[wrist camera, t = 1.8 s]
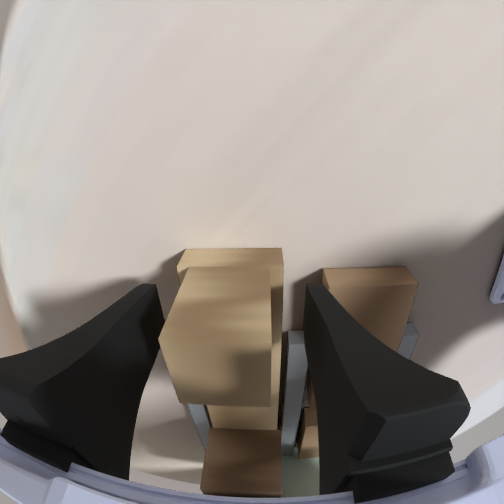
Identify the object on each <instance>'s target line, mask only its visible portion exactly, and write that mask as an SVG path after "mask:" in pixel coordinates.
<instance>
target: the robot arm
mask: <svg viewBox="0 0 504 504" xmlns="http://www.w3.org/2000/svg"><path fill="white" fill-rule="evenodd" d="M489 298H490V301H491V302H492V303H493V304H498V303H504V255H503V258H502V261H501V265H500V268H499V271H498V274H497V277H496V280H495V283H494V285H493V288H492V291H491V294H490V297H489ZM164 324H165V320H164V316H163V312H162V308H161V304H160V300H159V296H158V291H157V287H156V284H141V285H139V286H138V287H136V288H135V289H133V290H132V291H130V292H129V293H128V294H126V295H125V296H124V297H122V298H121V299H120V300H118V301H117V302H115V303H114V304H113V305H111V306H110V307H109V308H107V309H106V310H104V311H103V312H102V313H100V314H99V315H97V316H96V317H94V318H93V319H91V320H90V321H88V322H87V323H85V324H84V325H82V326H80V327H79V328H77V329H75V330H73V331H72V332H70V333H68V334H66V335H64V336H62V337H60V338H58V339H56V340H54V341H51V342H49V343H47V344H45V345H43V346H40V347H37V348H35V349H32V350H29V351H26V352H23V353H20V354H16V355H13V356H8V357H4V358H0V412H1V413H2V414H3V416H4V417H5V418H6V419H7V420H8V421H7V423H6V425H5V426H4V428H3V429H1V428H0V490H1V491H2V492H4V493H5V494H7V495H8V496H9V497H11V498H12V499H13V500H15V501H16V502H18V503H19V504H504V435H502V436H499V437H497V438H496V439H493V440H491V441H489V442H487V443H485V444H483V445H481V446H479V447H478V448H476V449H475V450H474V451H472V452H471V453H470V454H469V455H468V456H467V458H466V459H464V460H462V461H460V462H457V463H454V464H453V463H452V460H451V457H450V454H449V451H451V450H452V448H453V446H452V443H451V440H450V438H451V437H452V436H453V435H454V433H455V432H456V431H457V430H458V429H459V428H460V426H461V425H462V424H463V423H464V421H465V420H466V418H467V417H468V415H469V412H470V409H471V408H470V404H469V402H468V400H467V397H466V395H465V393H464V391H463V389H462V388H461V386H460V384H459V382H458V381H456V380H453V379H451V378H448V377H445V376H443V375H440V374H438V373H435V372H433V371H430V370H428V369H426V368H424V367H422V366H420V365H418V364H416V363H414V362H412V361H411V360H409V359H407V358H405V357H404V356H402V355H400V354H399V353H397V352H396V351H394V350H392V349H391V348H389V347H388V346H386V345H385V344H384V343H382V342H381V341H380V340H378V339H377V338H376V337H375V336H373V335H372V334H371V333H370V332H368V331H367V330H366V329H365V328H364V327H363V326H362V325H360V324H359V323H358V322H357V321H356V320H355V319H354V318H353V317H352V316H351V315H350V314H349V313H348V312H347V311H346V310H345V309H344V307H343V306H342V305H341V304H340V303H339V302H338V301H337V300H336V299H335V297H334V296H333V295H332V294H331V293H330V292H329V290H328V289H327V288H326V287H325V286H324V285H323V284H306V296H305V308H304V320H303V333H304V344H305V351H306V356H307V361H308V366H309V371H310V375H311V380H312V385H313V390H314V395H315V401H316V411H317V424H318V442H319V495H317V496H305V497H286V498H244V497H226V496H214V495H204V494H196V493H188V492H181V491H175V490H170V489H164V488H158V487H154V486H149V485H145V484H140V483H136V482H132V481H129V469H130V456H131V448H132V441H133V434H134V428H135V423H136V418H137V413H138V409H139V405H140V400H141V397H142V393H143V390H144V387H145V385H146V382H147V380H148V377H149V374H150V372H151V369H152V367H153V364H154V362H155V359H156V357H157V354H158V351H159V349H160V343H159V340H158V338H159V336H160V334H161V331H162V329H163V326H164Z"/></svg>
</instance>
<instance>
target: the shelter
mask: <svg viewBox="0 0 504 504" xmlns="http://www.w3.org/2000/svg"><path fill="white" fill-rule="evenodd" d="M281 462H282V494H281V498H286V497H305V496H317V495H319V458H305V459H298V447H294V450H293V455H292V456H281Z"/></svg>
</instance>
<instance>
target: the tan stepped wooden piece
mask: <svg viewBox="0 0 504 504" xmlns="http://www.w3.org/2000/svg"><path fill="white" fill-rule="evenodd" d="M177 271H178V277H179V282H180V289H179V291H178V293H177V296H176V298H175V300H174V303H173V305H172V307H171V310H170V312H169V314H168V317H167V319H166V321H165V324H164V326H163V329H162V331H161V334H160V336H159V338H158V340H159V343H160V346H161V350H162V353H163V356H164V359H165V362H166V365H167V368H168V371H169V374H170V377H171V380H172V383H173V386H174V388H175V391H176V394H177V397H178V399H179V402H180V403H188V404H199V405H207V408H208V411H209V415H210V419H211V422H212V426H213V428H222V429H247V430H277V420H278V403H279V385H280V365H281V341H282V313H283V275H284V264H283V255H282V248H246V249H186V250H185V252H184V254H183V256H182V258H181V259H180V261H179V263H178V265H177Z"/></svg>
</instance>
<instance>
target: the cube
mask: <svg viewBox="0 0 504 504" xmlns="http://www.w3.org/2000/svg"><path fill="white" fill-rule="evenodd" d="M200 489H201V491H202V492H203V494H204V495H214V496H226V497H244V498H281V494H282V462H281V430H247V429H222V428H209V432H208V439H207V445H206V452H205V458H204V465H203V472H202V478H201V485H200Z"/></svg>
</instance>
